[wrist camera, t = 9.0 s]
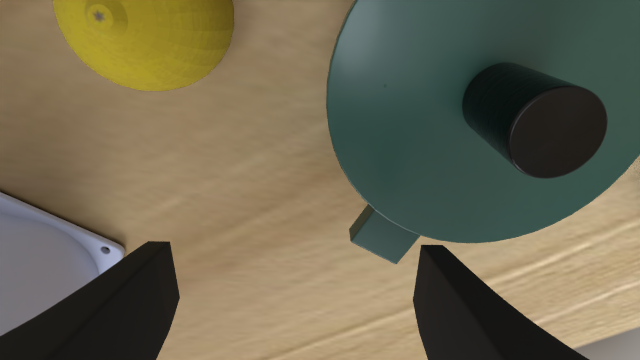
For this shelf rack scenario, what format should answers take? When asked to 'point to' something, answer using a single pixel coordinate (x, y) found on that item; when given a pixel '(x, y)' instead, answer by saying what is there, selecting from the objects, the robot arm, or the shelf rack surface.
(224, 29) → the lemon
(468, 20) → the pot lid
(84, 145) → the shelf rack surface
